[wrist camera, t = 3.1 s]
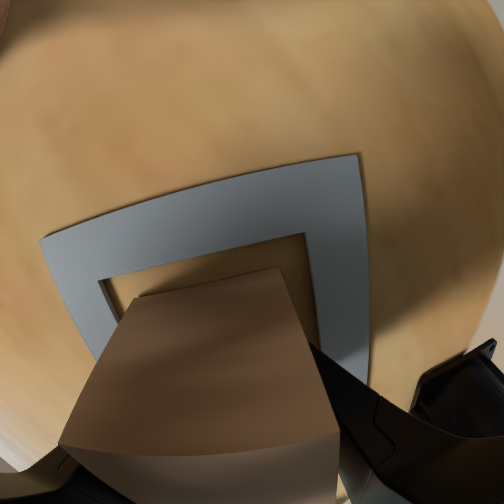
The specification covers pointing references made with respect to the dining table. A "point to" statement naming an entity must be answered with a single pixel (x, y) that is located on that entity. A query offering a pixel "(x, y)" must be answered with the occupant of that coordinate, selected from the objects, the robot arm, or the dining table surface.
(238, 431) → the block
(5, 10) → the mug
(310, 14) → the dining table surface
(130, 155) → the dining table surface
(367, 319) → the frame
